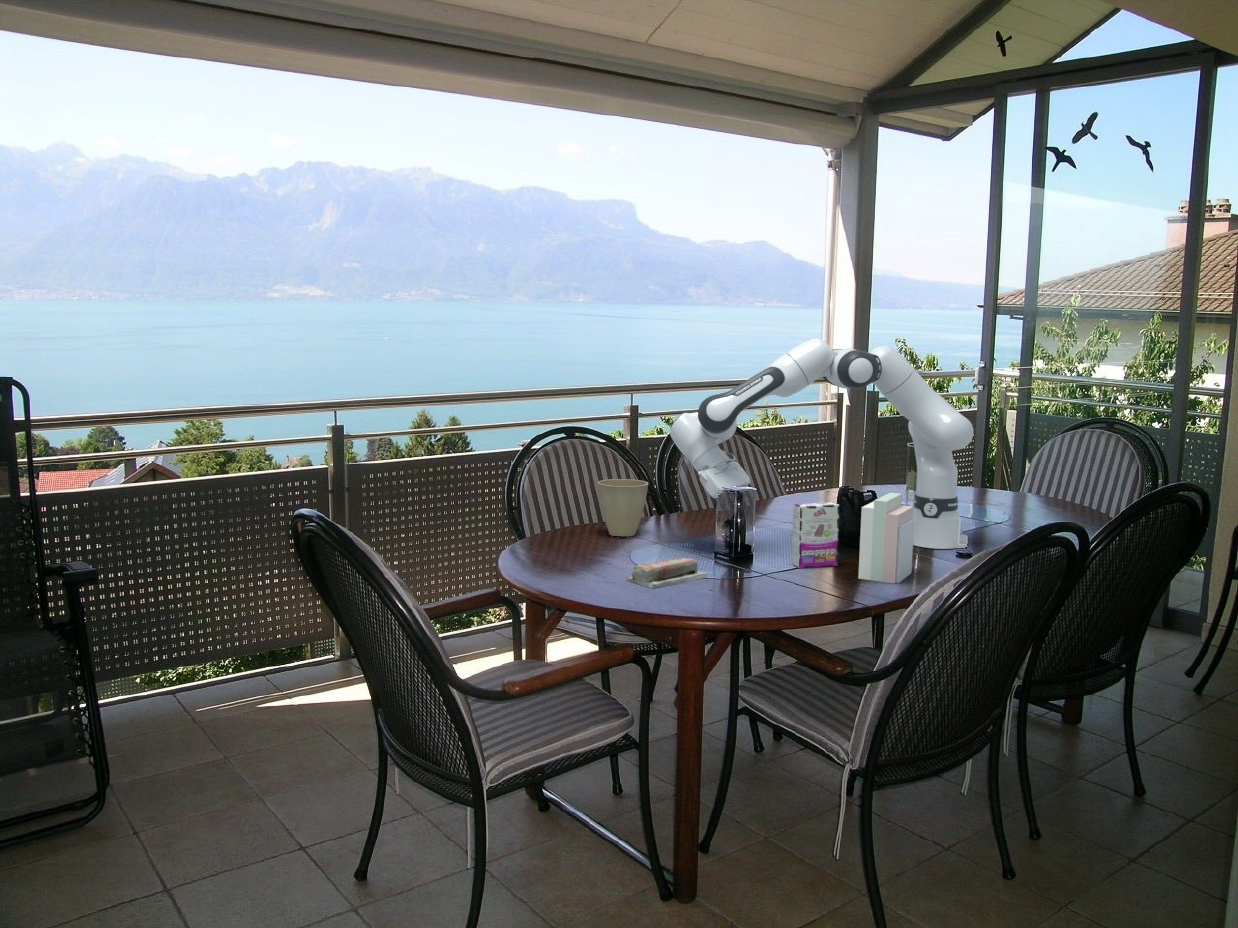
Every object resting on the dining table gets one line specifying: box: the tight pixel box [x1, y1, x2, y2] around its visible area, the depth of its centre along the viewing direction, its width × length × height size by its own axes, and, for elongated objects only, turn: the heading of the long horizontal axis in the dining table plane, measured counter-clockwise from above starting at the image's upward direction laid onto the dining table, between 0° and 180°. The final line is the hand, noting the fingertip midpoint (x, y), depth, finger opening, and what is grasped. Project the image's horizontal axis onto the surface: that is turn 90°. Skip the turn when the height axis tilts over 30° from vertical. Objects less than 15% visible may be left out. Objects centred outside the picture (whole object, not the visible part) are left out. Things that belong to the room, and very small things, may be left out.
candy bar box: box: [791, 501, 840, 569], centre depth 252 cm, size 11×5×16 cm, turn 105°
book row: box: [857, 492, 914, 585], centre depth 242 cm, size 14×10×20 cm
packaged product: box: [625, 557, 708, 590], centre depth 237 cm, size 18×5×10 cm
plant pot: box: [597, 478, 649, 537], centre depth 287 cm, size 15×15×16 cm
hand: (744, 503), depth 262 cm, fingers open, 3 cm apart
